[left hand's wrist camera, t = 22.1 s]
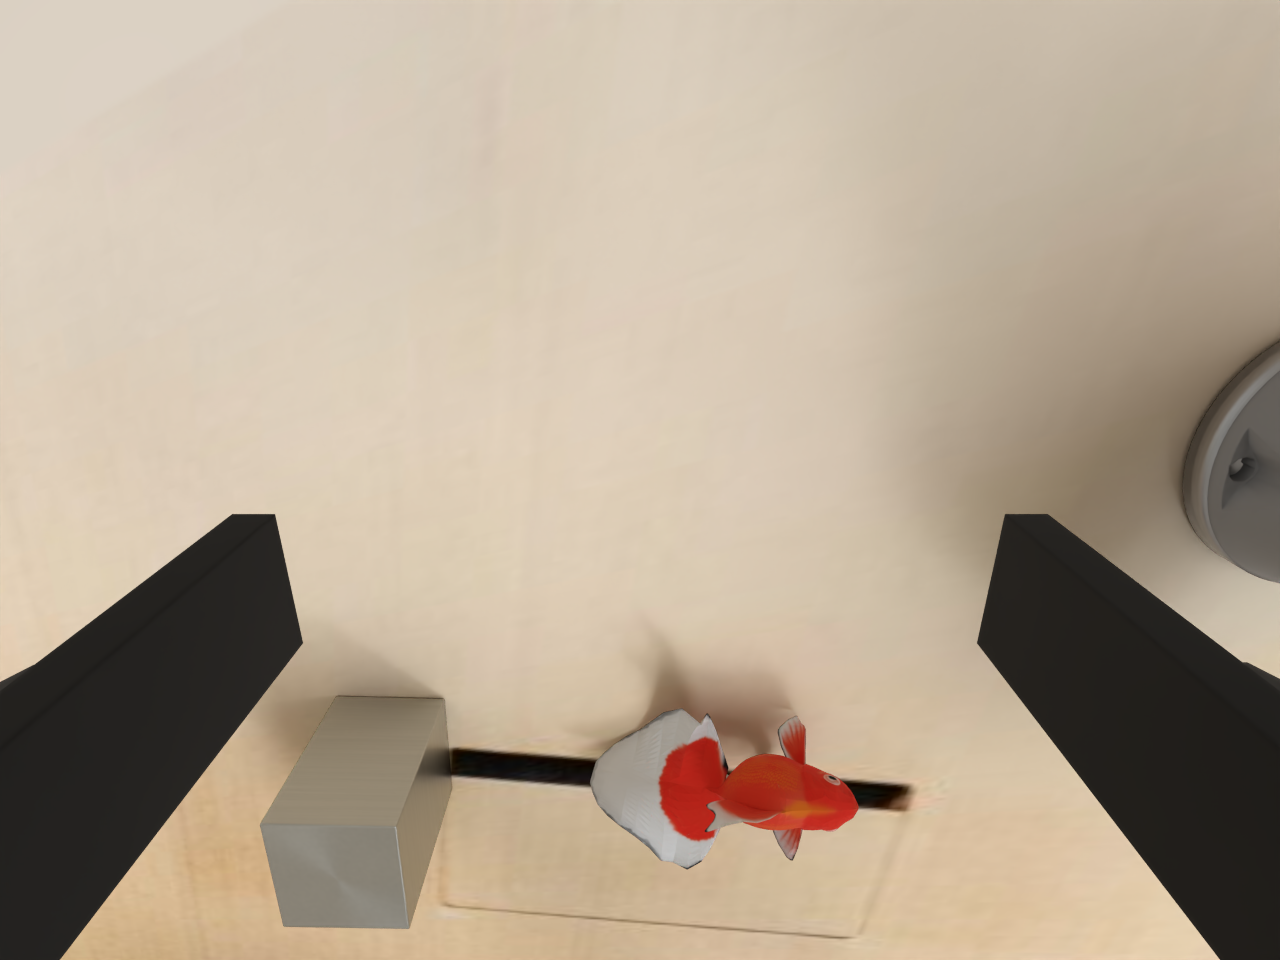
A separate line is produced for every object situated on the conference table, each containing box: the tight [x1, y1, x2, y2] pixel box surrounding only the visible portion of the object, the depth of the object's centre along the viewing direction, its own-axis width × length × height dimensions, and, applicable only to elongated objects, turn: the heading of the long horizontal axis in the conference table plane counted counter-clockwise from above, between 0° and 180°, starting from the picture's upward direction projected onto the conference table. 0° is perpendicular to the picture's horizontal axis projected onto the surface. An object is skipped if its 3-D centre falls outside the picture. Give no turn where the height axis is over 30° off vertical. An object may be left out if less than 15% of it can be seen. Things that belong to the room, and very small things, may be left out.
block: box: [260, 696, 452, 929], centre depth 41 cm, size 8×7×10 cm
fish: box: [590, 709, 858, 869], centre depth 42 cm, size 11×16×10 cm
